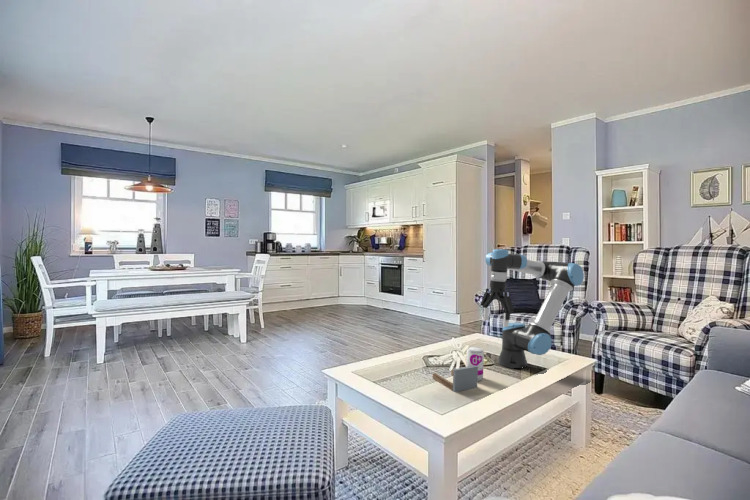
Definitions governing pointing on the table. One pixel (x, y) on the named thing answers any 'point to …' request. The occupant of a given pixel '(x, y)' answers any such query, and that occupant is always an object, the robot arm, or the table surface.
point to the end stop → (465, 378)
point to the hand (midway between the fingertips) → (495, 323)
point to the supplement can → (476, 360)
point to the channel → (443, 381)
